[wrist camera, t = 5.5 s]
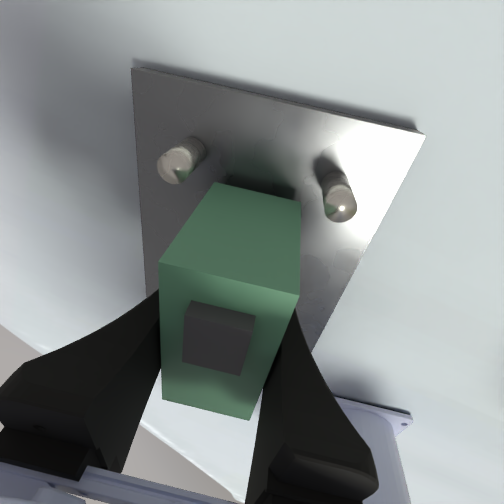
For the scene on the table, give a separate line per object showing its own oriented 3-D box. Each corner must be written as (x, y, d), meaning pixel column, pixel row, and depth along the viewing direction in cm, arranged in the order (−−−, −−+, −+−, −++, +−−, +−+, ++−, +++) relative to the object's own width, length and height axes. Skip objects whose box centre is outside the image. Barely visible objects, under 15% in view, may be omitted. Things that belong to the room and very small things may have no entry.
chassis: (306, 349, 21) (306, 395, 18) (154, 312, 21) (131, 351, 18) (417, 130, 12) (454, 154, 9) (142, 67, 12) (92, 70, 9)
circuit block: (264, 317, 17) (247, 435, 12) (201, 302, 17) (156, 413, 12) (301, 202, 12) (299, 312, 7) (214, 181, 12) (148, 276, 7)
